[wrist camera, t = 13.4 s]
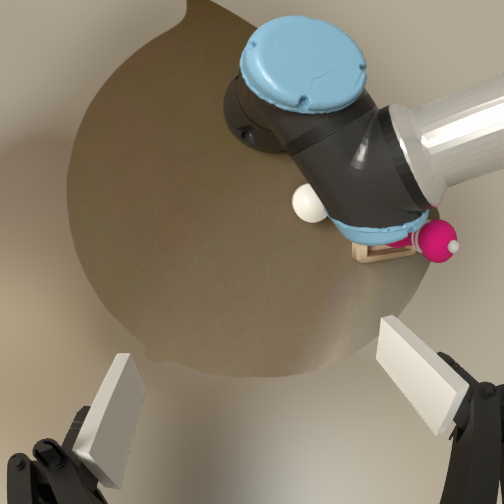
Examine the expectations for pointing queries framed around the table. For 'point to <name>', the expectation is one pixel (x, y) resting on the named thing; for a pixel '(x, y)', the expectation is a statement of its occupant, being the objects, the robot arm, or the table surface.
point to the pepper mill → (432, 241)
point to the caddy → (379, 252)
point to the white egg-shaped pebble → (307, 204)
